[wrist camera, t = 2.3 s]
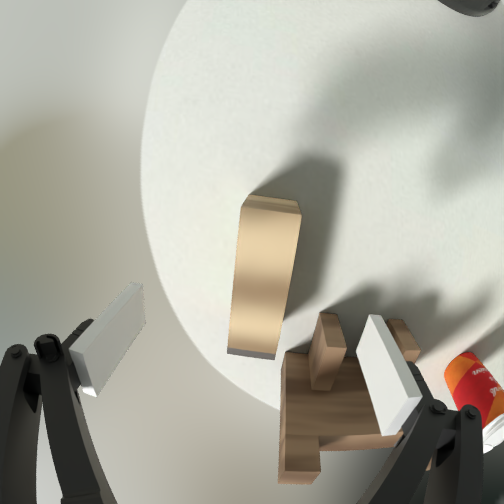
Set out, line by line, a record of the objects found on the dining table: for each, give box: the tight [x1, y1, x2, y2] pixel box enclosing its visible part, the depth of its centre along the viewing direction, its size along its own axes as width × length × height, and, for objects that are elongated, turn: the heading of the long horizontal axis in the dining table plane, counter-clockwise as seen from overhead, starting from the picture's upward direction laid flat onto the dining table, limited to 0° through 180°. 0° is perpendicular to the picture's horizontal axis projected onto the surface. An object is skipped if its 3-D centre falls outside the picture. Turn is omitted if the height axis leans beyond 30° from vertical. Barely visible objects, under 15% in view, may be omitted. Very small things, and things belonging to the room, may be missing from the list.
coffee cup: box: [444, 352, 504, 453], centre depth 25 cm, size 8×8×15 cm
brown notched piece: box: [278, 313, 432, 484], centre depth 24 cm, size 9×16×16 cm, turn 84°
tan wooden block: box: [227, 195, 302, 360], centre depth 26 cm, size 14×4×6 cm, turn 174°
